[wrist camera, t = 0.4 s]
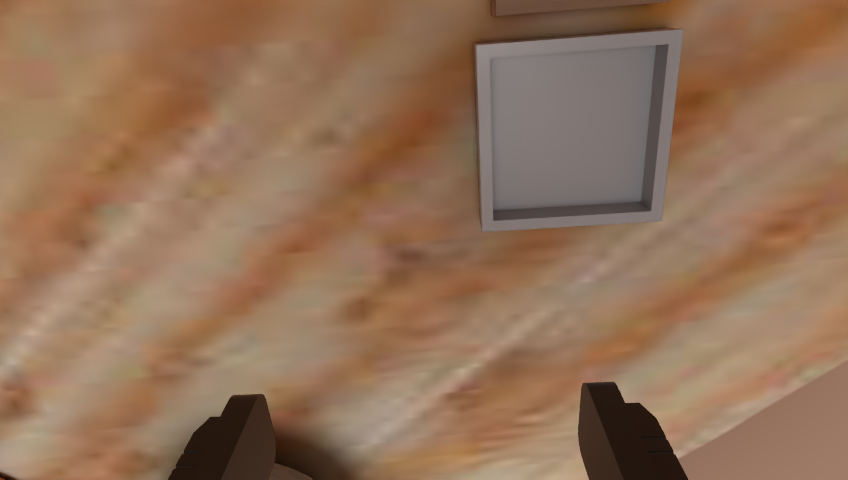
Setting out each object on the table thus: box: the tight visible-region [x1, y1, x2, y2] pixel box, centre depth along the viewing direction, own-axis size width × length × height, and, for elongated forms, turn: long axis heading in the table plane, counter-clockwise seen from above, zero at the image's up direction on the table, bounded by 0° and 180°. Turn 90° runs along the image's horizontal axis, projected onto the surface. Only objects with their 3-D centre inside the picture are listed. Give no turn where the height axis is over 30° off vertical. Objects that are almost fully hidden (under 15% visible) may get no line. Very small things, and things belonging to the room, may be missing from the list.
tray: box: [474, 28, 684, 232], centre depth 36 cm, size 13×13×2 cm
